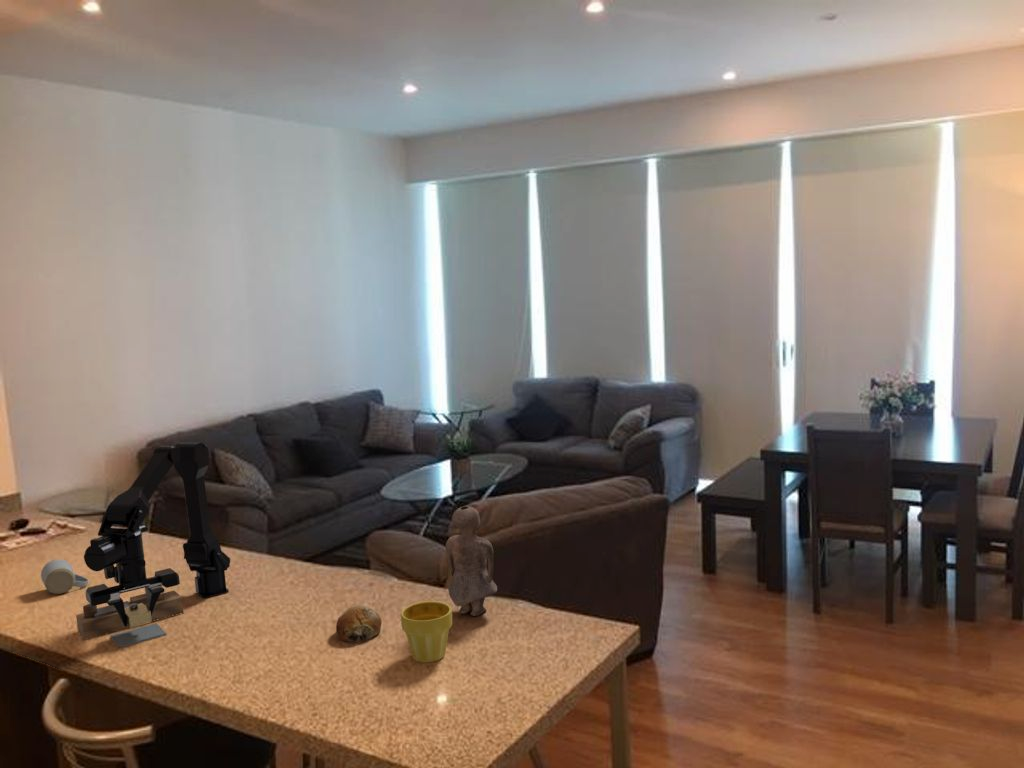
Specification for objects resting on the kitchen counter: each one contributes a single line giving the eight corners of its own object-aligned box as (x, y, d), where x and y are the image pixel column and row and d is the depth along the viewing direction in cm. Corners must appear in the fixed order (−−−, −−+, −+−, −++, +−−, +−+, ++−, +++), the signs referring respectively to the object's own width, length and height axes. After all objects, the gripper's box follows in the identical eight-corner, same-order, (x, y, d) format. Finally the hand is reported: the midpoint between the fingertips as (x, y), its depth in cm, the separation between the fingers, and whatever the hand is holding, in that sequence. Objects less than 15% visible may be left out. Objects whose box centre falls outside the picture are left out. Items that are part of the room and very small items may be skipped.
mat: (156, 624, 200) (156, 623, 200) (166, 634, 194) (166, 633, 194) (110, 637, 194) (110, 635, 194) (119, 648, 188) (119, 646, 188)
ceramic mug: (46, 598, 222) (43, 569, 221) (42, 590, 228) (39, 562, 227) (91, 589, 228) (88, 561, 227) (86, 581, 234) (83, 553, 233)
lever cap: (151, 622, 192) (150, 608, 192) (130, 627, 190) (128, 614, 189) (143, 613, 198) (142, 600, 198) (122, 618, 195) (120, 605, 195)
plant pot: (434, 671, 169) (431, 623, 168) (393, 661, 175) (390, 615, 174) (464, 650, 178) (461, 605, 177) (424, 641, 183) (421, 597, 182)
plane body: (175, 605, 212) (173, 580, 211) (183, 613, 207) (180, 587, 206) (78, 631, 199) (74, 604, 198) (83, 639, 193) (80, 612, 193)
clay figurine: (507, 608, 199) (502, 504, 196) (485, 624, 191) (479, 515, 188) (460, 601, 206) (454, 499, 203) (437, 616, 197) (430, 510, 194)
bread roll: (387, 645, 191) (392, 608, 194) (365, 644, 182) (371, 605, 184) (348, 641, 195) (353, 605, 197) (324, 639, 185) (330, 601, 188)
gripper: (162, 539, 204) (169, 602, 206) (76, 557, 193) (84, 624, 195) (177, 549, 195) (183, 615, 197) (87, 569, 184) (95, 639, 186)
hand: (137, 622), depth 194 cm, fingers closed on lever cap, 5 cm apart
